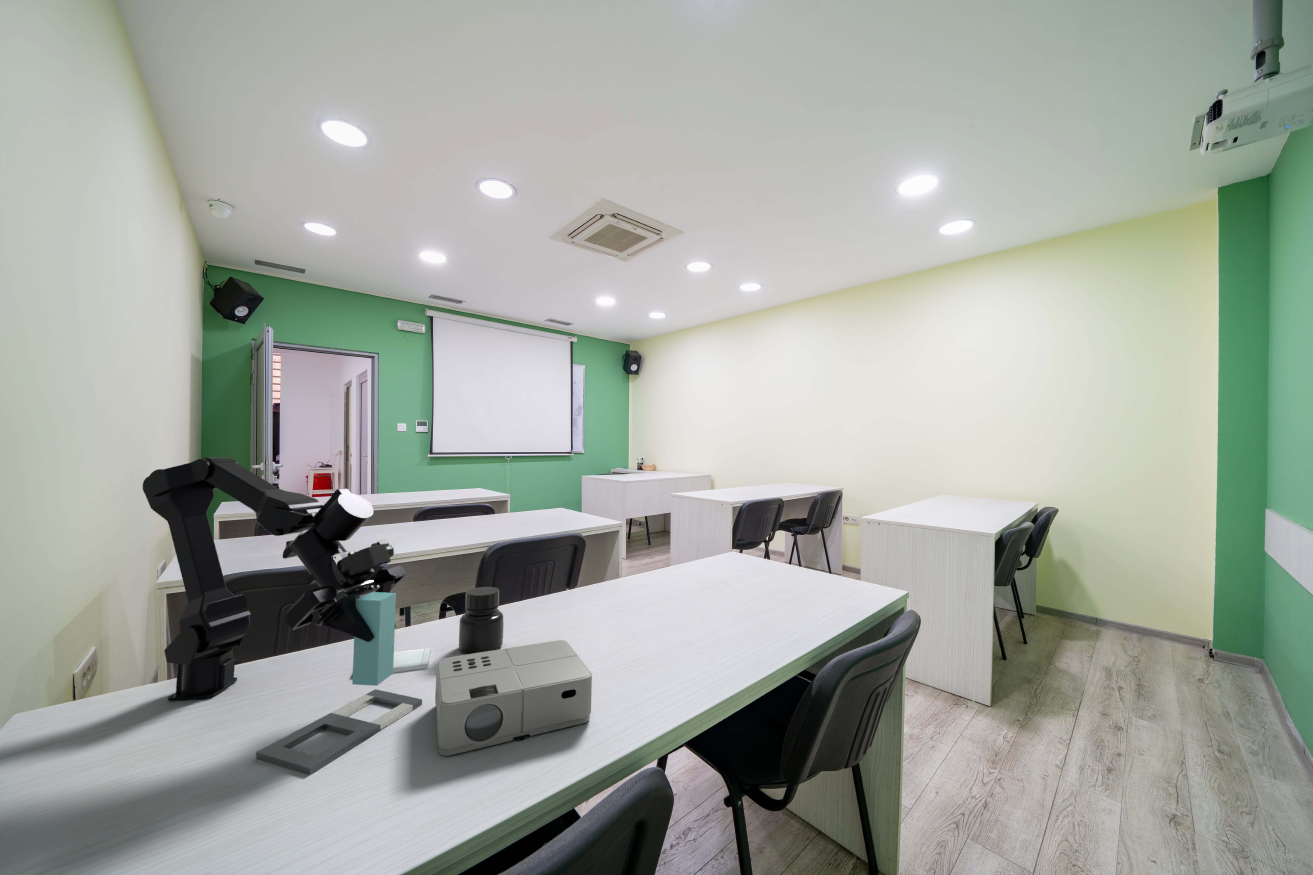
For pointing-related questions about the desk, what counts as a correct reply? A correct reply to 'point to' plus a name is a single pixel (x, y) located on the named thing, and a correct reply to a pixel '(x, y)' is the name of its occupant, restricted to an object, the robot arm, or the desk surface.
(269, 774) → the desk surface
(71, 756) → the desk surface
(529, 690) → the projector
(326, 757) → the panel
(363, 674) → the plug
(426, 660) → the hard drive
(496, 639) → the ink bottle
